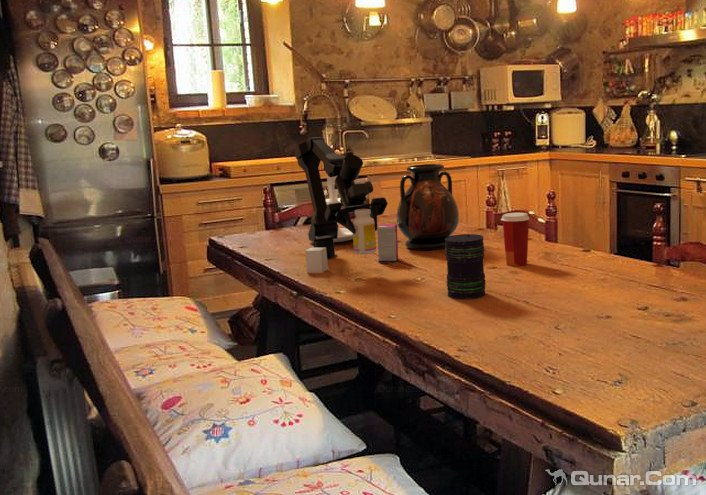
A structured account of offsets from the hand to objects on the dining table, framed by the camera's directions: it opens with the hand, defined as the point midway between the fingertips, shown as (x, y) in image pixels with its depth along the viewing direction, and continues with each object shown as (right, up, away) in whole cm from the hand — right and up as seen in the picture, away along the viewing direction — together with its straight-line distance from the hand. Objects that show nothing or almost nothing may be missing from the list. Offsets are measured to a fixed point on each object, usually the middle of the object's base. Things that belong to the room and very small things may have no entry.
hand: (365, 231), depth 223 cm
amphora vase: (+23, -5, +41) cm, 47 cm away
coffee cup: (+45, -10, +4) cm, 46 cm away
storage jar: (+25, -17, -28) cm, 41 cm away
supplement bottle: (0, -7, +3) cm, 7 cm away
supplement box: (+8, -9, +22) cm, 25 cm away
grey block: (-15, -12, +13) cm, 23 cm away
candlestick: (-8, -2, +65) cm, 65 cm away
